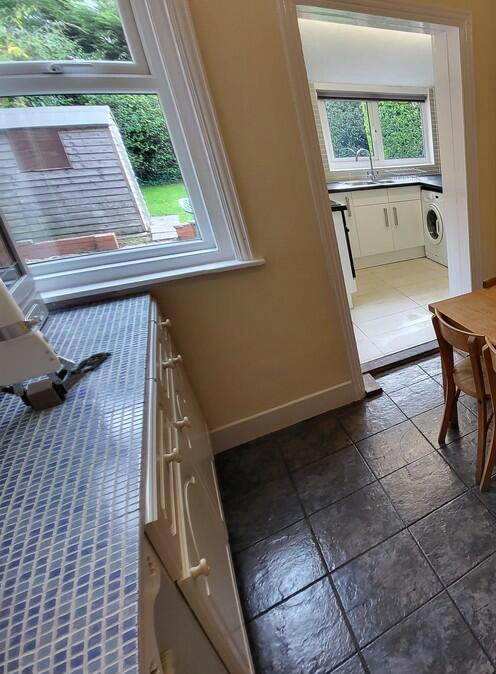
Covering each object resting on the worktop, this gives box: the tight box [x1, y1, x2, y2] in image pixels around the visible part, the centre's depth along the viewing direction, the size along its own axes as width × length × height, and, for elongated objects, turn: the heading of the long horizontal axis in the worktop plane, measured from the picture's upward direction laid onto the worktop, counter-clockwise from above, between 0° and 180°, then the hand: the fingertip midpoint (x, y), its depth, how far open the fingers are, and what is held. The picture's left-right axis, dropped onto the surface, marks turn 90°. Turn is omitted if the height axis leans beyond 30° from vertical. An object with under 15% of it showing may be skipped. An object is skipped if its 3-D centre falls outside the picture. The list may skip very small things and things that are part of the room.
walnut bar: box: [26, 377, 63, 413], centre depth 94 cm, size 7×4×4 cm, turn 46°
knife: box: [62, 351, 112, 396], centre depth 105 cm, size 25×6×1 cm, turn 16°
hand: (49, 401), depth 95 cm, fingers closed on walnut bar, 4 cm apart
